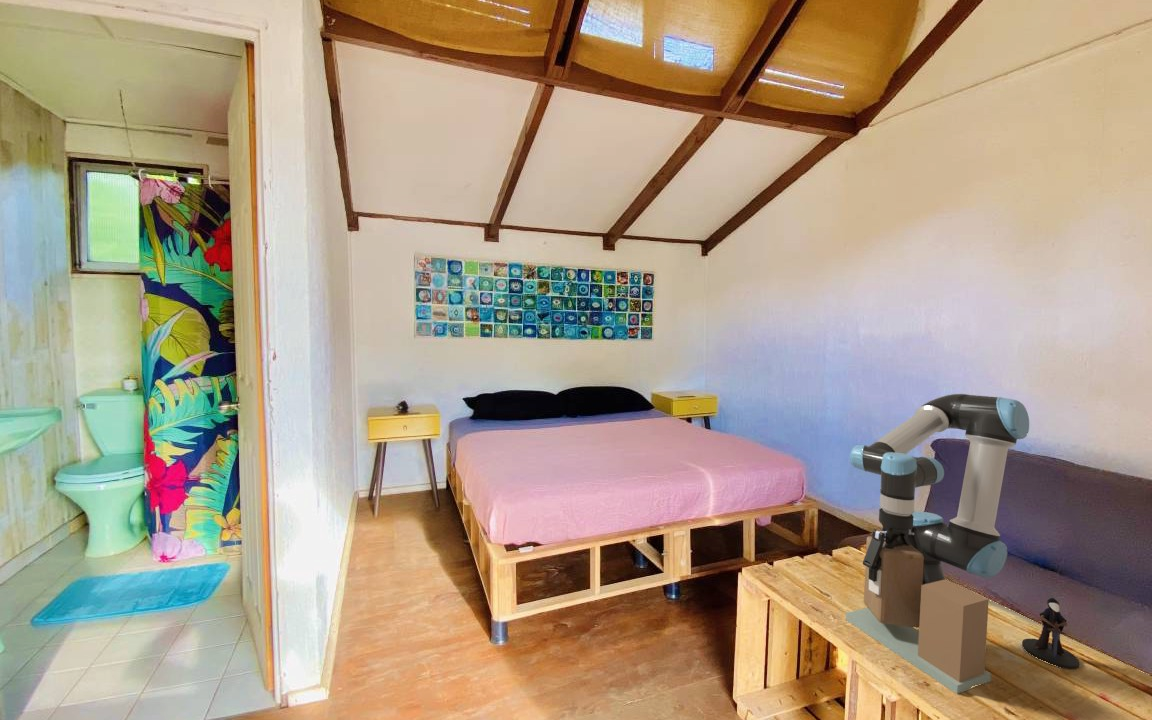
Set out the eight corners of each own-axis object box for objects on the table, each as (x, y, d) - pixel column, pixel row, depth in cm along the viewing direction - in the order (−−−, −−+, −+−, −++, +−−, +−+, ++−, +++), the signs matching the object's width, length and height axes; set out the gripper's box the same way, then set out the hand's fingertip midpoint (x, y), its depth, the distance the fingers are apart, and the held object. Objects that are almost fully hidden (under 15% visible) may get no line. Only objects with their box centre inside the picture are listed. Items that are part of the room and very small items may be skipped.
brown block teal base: (875, 612, 131) (878, 545, 130) (990, 681, 104) (995, 599, 103) (845, 619, 127) (848, 551, 126) (956, 694, 100) (961, 608, 99)
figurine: (1027, 658, 112) (1031, 600, 112) (1017, 636, 121) (1021, 583, 120) (1086, 675, 107) (1090, 615, 106) (1071, 652, 115) (1075, 596, 114)
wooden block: (922, 629, 115) (925, 554, 114) (879, 624, 116) (883, 550, 115) (900, 607, 124) (904, 537, 124) (862, 602, 126) (865, 534, 125)
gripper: (913, 501, 127) (909, 573, 128) (849, 510, 119) (845, 587, 119) (942, 511, 120) (938, 587, 120) (876, 521, 111) (872, 603, 112)
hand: (892, 588), depth 120 cm, fingers closed on wooden block, 13 cm apart
